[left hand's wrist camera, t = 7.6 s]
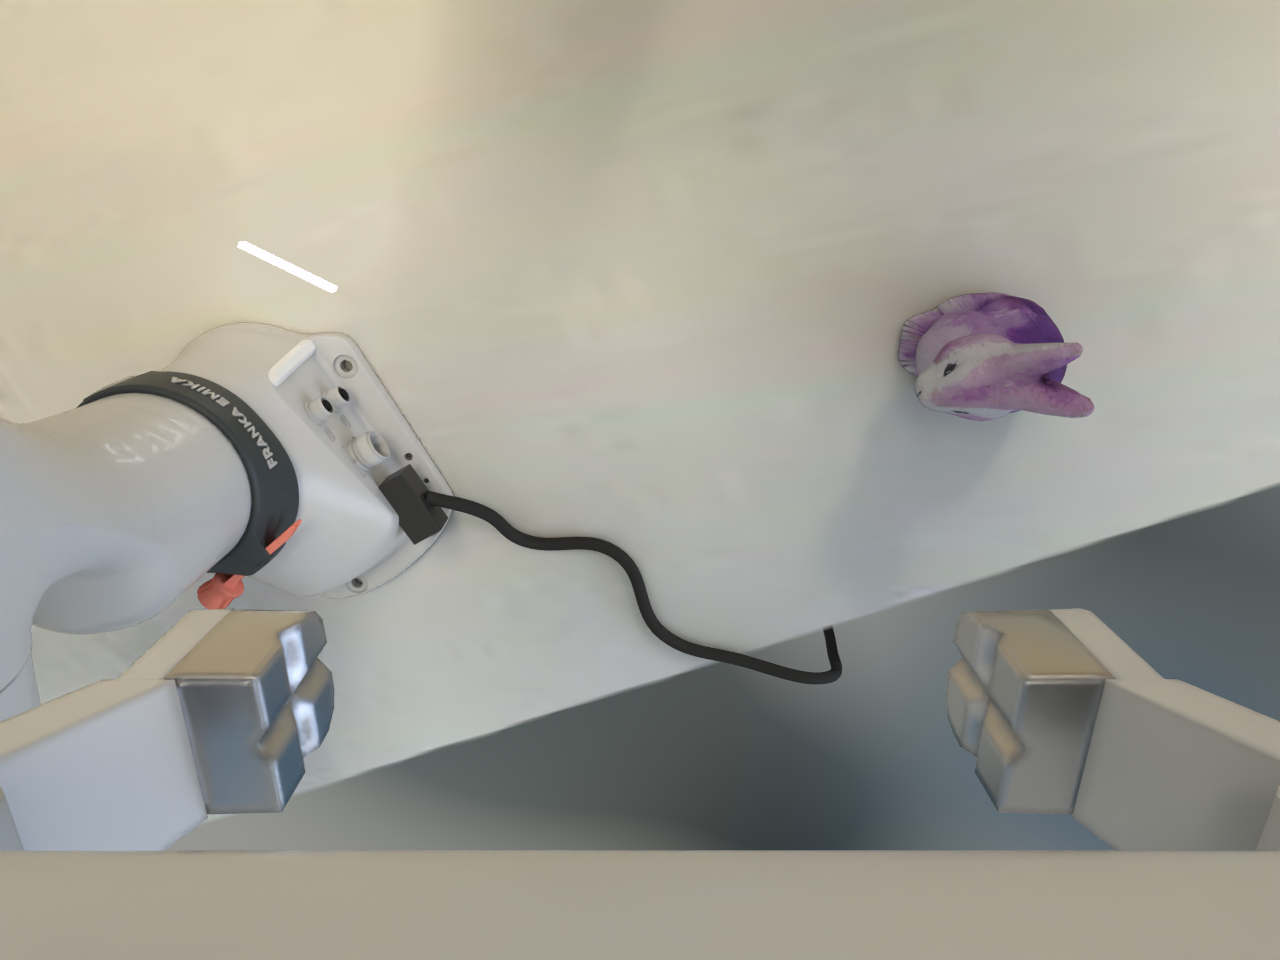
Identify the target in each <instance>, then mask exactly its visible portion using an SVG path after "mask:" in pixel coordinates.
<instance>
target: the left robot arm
mask: <svg viewBox="0 0 1280 960" xmlns="http://www.w3.org/2000/svg"><path fill="white" fill-rule="evenodd" d="M326 643H327V640H326V635H325V630H324V625H323V620H322V618H321V617H320V616H319V615H318V614H317V613H316V611H285V610H235V609H207V610H194V611H189V612H188V613H187V614H186V615H185V616H184V617H183V618H182V619H181V620H180V621H178V622H177V623H176V624H175V625H174V626H173V627H172V628H171V629H170V630H169V631H168V632H167V633H165V634H164V635H163V636H162V637H161V638H160V639H159V640H158V641H157V642H156V643H155V644H154V645H152V646H151V647H150V648H149V649H148V650H147V651H146V652H145V653H144V654H143V655H142V656H141V657H139V658H138V659H137V660H136V661H135V662H134V663H133V664H132V665H131V666H130V667H129V668H128V669H126V670H125V671H124V672H123V673H122V674H121V675H120V676H119V677H118V678H117V679H105V680H100V681H98V682H95V683H93V684H90V685H88V686H85V687H83V688H81V689H78V690H76V691H73V692H71V693H68V694H66V695H64V696H61V697H59V698H56V699H54V700H52V701H49V702H47V703H44V704H42V705H39V706H37V707H35V708H32V709H30V710H27V711H25V712H22V713H20V714H18V715H15V716H13V717H10V718H8V719H5V720H3V721H1V722H0V960H1280V722H1279V721H1277V720H1274V719H1272V718H1269V717H1267V716H1265V715H1262V714H1260V713H1257V712H1255V711H1252V710H1250V709H1248V708H1245V707H1243V706H1240V705H1238V704H1236V703H1233V702H1231V701H1228V700H1226V699H1223V698H1221V697H1219V696H1216V695H1214V694H1211V693H1209V692H1207V691H1204V690H1202V689H1199V688H1197V687H1195V686H1192V685H1190V684H1187V683H1185V682H1182V681H1180V680H1176V679H1163V678H1162V677H1161V676H1160V675H1159V674H1158V673H1157V672H1156V671H1155V670H1154V669H1153V668H1151V667H1150V666H1149V665H1148V664H1147V663H1146V662H1145V661H1144V660H1143V659H1142V658H1141V657H1140V656H1139V655H1137V654H1136V653H1135V652H1134V651H1133V650H1132V649H1131V648H1130V647H1129V646H1128V645H1127V644H1126V643H1124V642H1123V641H1122V640H1121V639H1120V638H1119V637H1118V636H1117V635H1116V634H1115V633H1114V632H1113V631H1111V630H1110V629H1109V628H1108V627H1107V626H1106V625H1105V624H1104V623H1103V622H1102V621H1101V620H1100V619H1098V618H1097V617H1096V616H1095V615H1094V614H1093V613H1092V612H1090V611H1087V610H1083V609H1060V610H1012V611H971V612H964V613H961V615H960V617H959V619H958V622H957V624H956V628H955V634H954V639H953V643H954V644H955V646H956V647H957V649H958V650H959V652H960V653H961V655H962V657H963V658H962V659H961V660H960V661H959V662H958V663H957V664H956V665H955V666H954V667H953V668H952V669H951V670H950V671H949V672H948V679H947V687H946V695H945V696H946V706H947V716H948V720H949V723H950V726H951V729H952V732H953V734H954V736H955V738H956V740H957V742H958V743H959V745H960V747H962V748H963V749H965V750H966V751H968V752H969V753H971V754H973V755H974V756H976V757H977V762H976V768H975V773H976V775H977V777H978V778H979V780H980V782H981V783H982V785H983V787H984V789H985V790H986V792H987V794H988V795H989V797H990V799H991V801H992V802H993V804H994V806H995V807H996V809H997V811H998V812H1007V813H1042V814H1073V816H1072V818H1073V819H1075V820H1076V821H1077V822H1079V823H1080V824H1081V825H1083V826H1084V827H1085V828H1087V829H1088V830H1089V831H1091V832H1092V833H1093V834H1095V835H1096V836H1097V837H1099V838H1100V839H1101V840H1103V841H1104V842H1105V843H1107V844H1108V845H1109V846H1111V847H1112V848H1113V849H1115V850H1114V851H1113V850H1112V851H1111V850H1110V851H1109V850H1107V851H164V850H166V849H167V848H168V847H170V846H171V845H172V844H174V843H175V842H176V841H178V840H179V839H180V838H182V837H183V836H184V835H186V834H187V833H188V832H190V831H191V830H192V829H193V828H195V827H196V826H198V825H199V824H200V823H202V822H203V821H204V820H206V819H207V817H208V816H207V814H237V813H272V812H282V811H283V809H284V808H285V806H286V804H287V802H288V801H289V799H290V797H291V795H292V794H293V792H294V790H295V789H296V787H297V785H298V783H299V782H300V780H301V778H302V777H303V775H304V773H305V768H304V762H303V757H304V756H306V755H307V754H309V753H311V752H312V751H314V750H315V749H317V748H318V747H320V745H321V743H322V742H323V740H324V738H325V736H326V734H327V732H328V730H329V726H330V722H331V718H332V714H333V710H334V684H333V677H332V672H331V671H330V670H329V669H328V668H327V667H326V666H325V665H324V664H323V663H322V662H321V661H320V660H319V659H318V658H317V657H318V655H319V654H320V652H321V651H322V649H323V647H324V646H325V644H326Z"/></svg>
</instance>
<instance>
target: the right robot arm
mask: <svg viewBox="0 0 1280 960" xmlns="http://www.w3.org/2000/svg"><path fill="white" fill-rule="evenodd" d="M238 247H239V248H241V249H243V250H245V251H247V252H249V253H251V254H253V255H255V256H258V257H260V258H262V259H264V260H266V261H268V262H270V263H272V264H274V265H276V266H278V267H280V268H282V269H284V270H286V271H288V272H290V273H292V274H295V275H297V276H299V277H301V278H303V279H305V280H307V281H309V282H311V283H313V284H315V285H317V286H319V287H321V288H323V289H325V290H327V291H329V292H331V293H332V292H334V291H336V289H337V286H335V285H333V284H331V283H329V282H327V281H325V280H323V279H321V278H318V277H316V276H314V275H312V274H310V273H308V272H306V271H304V270H302V269H300V268H298V267H296V266H294V265H292V264H290V263H288V262H286V261H284V260H282V259H280V258H278V257H275V256H273V255H271V254H269V253H267V252H265V251H263V250H261V249H259V248H257V247H255V246H253V245H251V244H249V243H247V242H239V244H238ZM344 360H347V361H349V362H350V363H351V364H352V370H348V369H346V368H345V367H344ZM408 453H410V454H411V455H412V457H410V456H409V455H408ZM452 510H456V511H460V512H464V513H468V514H471V515H474V516H476V517H479V518H481V519H483V520H485V521H487V522H489V523H490V524H491V525H493V526H494V527H495V528H496V529H497V530H498V531H499V532H500V533H501V534H502V535H503V536H505V537H506V538H507V539H509V540H510V541H512V542H514V543H516V544H518V545H521V546H524V547H527V548H531V549H537V550H573V549H585V550H593V551H598V552H601V553H604V554H606V555H608V556H610V557H612V558H613V559H614V560H616V561H617V562H618V563H619V564H620V565H621V566H622V567H623V568H624V570H625V571H626V573H627V574H628V576H629V578H630V581H631V583H632V586H633V589H634V593H635V596H636V600H637V603H638V606H639V609H640V612H641V614H642V617H643V619H644V621H645V623H646V624H647V626H648V627H649V628H650V630H651V631H652V632H653V633H654V634H655V635H656V636H657V637H658V638H659V639H660V640H662V641H663V642H665V643H666V644H668V645H669V646H671V647H673V648H675V649H677V650H679V651H681V652H684V653H686V654H689V655H693V656H696V657H701V658H705V659H710V660H715V661H720V662H726V663H730V664H734V665H738V666H742V667H746V668H749V669H752V670H756V671H759V672H762V673H766V674H769V675H772V676H775V677H779V678H782V679H786V680H790V681H794V682H799V683H805V684H826V683H831V682H834V681H836V680H837V679H838V678H839V677H840V676H841V674H842V663H841V660H840V657H839V654H838V649H837V644H836V638H835V634H834V630H833V626H828V627H825V628H823V632H824V636H825V641H826V648H827V654H828V659H829V662H830V665H831V670H829V671H827V672H821V673H813V672H804V671H799V670H794V669H790V668H786V667H783V666H779V665H776V664H773V663H769V662H766V661H763V660H760V659H756V658H753V657H749V656H746V655H742V654H738V653H734V652H730V651H725V650H720V649H715V648H710V647H705V646H701V645H697V644H694V643H691V642H688V641H685V640H683V639H681V638H679V637H677V636H676V635H674V634H672V633H671V632H670V631H668V630H667V629H666V628H665V627H664V626H663V625H661V623H660V622H659V621H658V619H657V618H656V616H655V614H654V613H653V610H652V608H651V605H650V602H649V599H648V595H647V592H646V588H645V585H644V582H643V579H642V576H641V574H640V572H639V569H638V567H637V566H636V564H635V563H634V561H633V560H632V559H631V558H630V557H629V556H628V554H627V553H625V552H624V551H623V550H621V549H620V548H619V547H617V546H615V545H613V544H612V543H610V542H607V541H604V540H601V539H596V538H589V537H566V538H540V537H534V536H530V535H527V534H524V533H522V532H520V531H518V530H516V529H515V528H513V527H512V526H511V525H510V524H509V523H508V522H507V521H506V520H505V519H504V518H503V517H502V516H501V515H499V514H498V513H497V512H495V511H494V510H492V509H490V508H488V507H486V506H484V505H482V504H479V503H476V502H473V501H470V500H467V499H463V498H459V497H454V495H453V493H452V491H451V489H450V487H449V486H448V484H447V483H446V481H445V480H444V478H443V476H442V475H441V473H440V472H439V470H438V469H437V467H436V466H435V464H434V463H433V461H432V460H431V458H430V456H429V455H428V453H427V452H426V450H425V449H424V447H423V446H422V444H421V443H420V441H419V440H418V438H417V436H416V435H415V433H414V432H413V430H412V429H411V427H410V426H409V424H408V423H407V421H406V420H405V418H404V417H403V415H402V413H401V412H400V410H399V409H398V407H397V406H396V404H395V403H394V401H393V400H392V398H391V397H390V395H389V394H388V392H387V390H386V389H385V387H384V386H383V384H382V383H381V381H380V380H379V378H378V377H377V375H376V374H375V372H374V370H373V369H372V367H371V366H370V364H369V363H368V361H367V360H366V358H365V357H364V355H363V354H362V352H361V351H360V349H359V347H358V346H357V344H356V343H355V342H354V340H353V339H352V338H350V337H349V336H348V335H346V334H343V333H338V332H325V333H314V334H301V333H297V332H293V331H290V330H286V329H283V328H280V327H277V326H272V325H268V324H262V323H247V322H246V323H233V324H228V325H223V326H220V327H217V328H214V329H211V330H209V331H207V332H205V333H203V334H202V335H200V336H198V337H197V338H196V339H194V340H193V341H192V342H191V343H189V344H188V345H187V346H186V347H185V348H184V349H183V351H182V352H181V353H180V354H179V356H178V357H177V359H176V360H175V361H174V362H172V363H171V364H170V365H169V366H167V367H166V368H164V369H163V370H161V371H159V372H157V371H150V372H147V373H144V374H141V375H138V376H135V377H133V376H130V377H127V378H125V379H122V380H119V381H117V382H115V383H112V384H110V385H108V386H106V387H104V388H102V389H100V390H98V391H96V392H95V393H93V394H92V395H90V396H89V397H87V398H85V399H84V400H83V402H82V403H81V404H80V405H79V406H78V407H77V408H75V409H72V410H69V411H66V412H63V413H60V414H57V415H54V416H50V417H47V418H44V419H40V420H36V421H33V422H29V423H25V424H16V423H12V422H10V421H8V420H6V419H4V418H2V417H0V722H1V721H3V720H5V719H8V718H10V717H13V716H15V715H18V714H20V713H22V712H25V711H27V710H30V709H32V708H35V707H37V706H39V705H41V704H40V698H39V693H38V687H37V682H36V676H35V671H34V665H33V660H32V655H31V650H32V632H31V630H32V625H34V626H37V627H40V628H43V629H47V630H51V631H55V632H60V633H67V634H85V635H87V634H98V633H105V632H111V631H116V630H120V629H124V628H127V627H131V626H134V625H137V624H139V623H142V622H144V621H147V620H149V619H151V618H153V617H154V616H156V615H158V614H159V613H160V612H162V611H163V610H164V609H165V608H167V607H168V606H169V605H170V604H171V603H172V602H173V601H174V600H176V599H177V598H178V597H179V596H180V595H181V594H182V593H184V592H185V591H186V590H187V589H188V588H189V587H190V586H191V585H193V584H194V583H195V582H196V581H197V580H198V579H199V578H201V577H202V576H203V575H204V574H205V573H216V574H215V576H214V578H212V579H211V580H209V581H207V582H205V583H204V584H203V585H201V586H200V587H199V589H198V590H197V593H198V599H199V601H200V602H201V604H202V605H203V606H204V607H206V608H207V609H225V608H226V607H227V606H228V605H229V604H230V603H231V601H232V600H233V599H234V598H236V597H238V596H240V595H241V594H242V593H243V591H244V585H243V582H242V580H241V579H242V578H243V577H244V576H248V577H250V578H253V579H255V580H258V581H260V582H263V583H265V584H268V585H270V586H273V587H275V588H278V589H280V590H282V591H285V592H287V593H289V594H292V595H295V596H314V595H319V594H323V595H324V596H326V597H328V598H332V599H336V598H346V597H352V596H356V595H359V594H362V593H365V592H368V591H370V590H372V589H375V588H377V587H379V586H381V585H382V584H384V583H386V582H388V581H389V580H391V579H392V578H394V577H395V576H397V575H398V574H399V573H401V572H402V571H403V570H405V569H406V568H407V567H409V566H410V565H411V564H412V563H413V562H414V561H416V560H417V559H418V558H419V557H420V556H421V555H422V554H423V553H424V552H425V551H426V550H427V549H428V548H429V547H430V546H431V545H432V544H433V542H434V541H435V540H436V539H437V538H438V536H439V535H440V534H441V532H442V531H443V529H444V527H445V526H446V524H447V522H448V520H449V518H450V516H451V513H452ZM355 578H359V579H360V580H361V581H362V584H360V583H357V582H356V581H355Z"/></svg>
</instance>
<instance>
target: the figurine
mask: <svg viewBox="0 0 1280 960" xmlns="http://www.w3.org/2000/svg"><path fill="white" fill-rule="evenodd" d="M901 336H902V337H901V341H900V343H901V344H900V345H899V346H900V348H899V359H900V363H901V365H902V366H903V367H904V369H905V370H907V371H909V372H910V373H912V374H915V375H916V376H918V378H917V379H916V382H915V394H916V395H917V397H918V399H919V401H920V403H921V404H922V405H923V406H924V407H926V408H928V409H930V410H933V411H938V412H944V413H948V414H953V415H957V416H960V417H962V418H966V419H971V420H978V421H986V420H993V419H996V418H999V417H1002V416H1004V415H1006V414H1007V413H1012V412H1016V411H1019V410H1025V411H1029V412H1034V413H1040V414H1045V415H1052V416H1061V417H1069V418H1078V417H1085V416H1088V415H1090V414H1091V413H1092V412H1093V410H1094V404H1093V403H1092V401H1091V400H1090V399H1089V398H1088V397H1085V396H1083V395H1081V394H1080V393H1078V392H1077V391H1075V390H1073V389H1071V388H1069V387H1067V386H1065V385H1063V384H1061V382H1062V379H1063V377H1064V375H1065V371H1066V368H1067V364H1068V363H1070V362H1071V361H1073V360H1075V359H1076V358H1078V357H1080V355H1081V353H1082V351H1083V348H1082V345H1080V344H1079V343H1064V340H1063V337H1062V335H1061V333H1060V331H1059V329H1058V328H1057V326H1056V325H1055V324H1054V322H1053V321H1052V320H1051V318H1050V317H1049V316H1048V314H1047V313H1046V312H1045V311H1044V309H1043V308H1041V307H1040V306H1039V305H1037V304H1036V303H1035V302H1033V301H1031V300H1028V299H1023V298H1019V297H1013V296H1009V295H1006V294H1002V293H979V294H967V295H962V296H957V297H954V298H950V299H948V300H946V301H945V302H943V303H941V304H940V305H938V306H937V307H936V308H935V309H934V310H931V311H928V312H925V313H922V314H918V315H916V316H913V317H911V318H910V319H908V320H907V321H906V322H905V324H904V326H903V327H902V334H901Z"/></svg>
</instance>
